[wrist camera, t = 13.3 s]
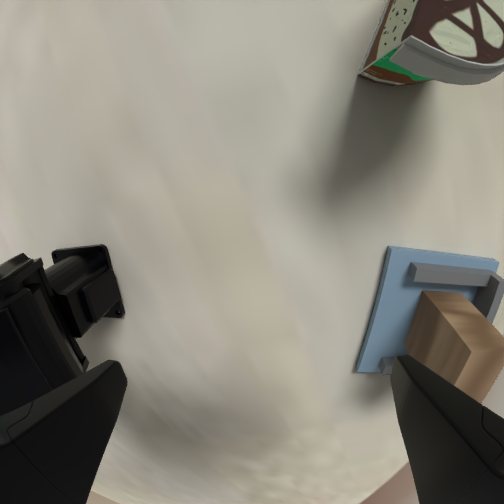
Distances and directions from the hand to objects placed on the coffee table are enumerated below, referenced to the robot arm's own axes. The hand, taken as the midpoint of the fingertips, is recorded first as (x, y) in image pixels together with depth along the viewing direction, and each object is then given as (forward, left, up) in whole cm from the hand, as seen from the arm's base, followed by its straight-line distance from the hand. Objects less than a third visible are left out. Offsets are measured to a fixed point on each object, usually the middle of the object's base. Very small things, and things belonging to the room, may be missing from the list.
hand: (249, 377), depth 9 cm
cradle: (+13, -7, -13) cm, 20 cm away
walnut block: (+13, -7, -12) cm, 19 cm away
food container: (+12, +14, -13) cm, 23 cm away
